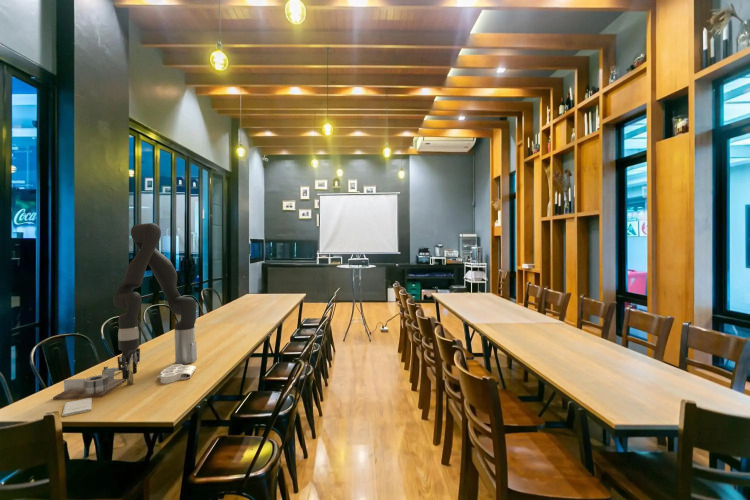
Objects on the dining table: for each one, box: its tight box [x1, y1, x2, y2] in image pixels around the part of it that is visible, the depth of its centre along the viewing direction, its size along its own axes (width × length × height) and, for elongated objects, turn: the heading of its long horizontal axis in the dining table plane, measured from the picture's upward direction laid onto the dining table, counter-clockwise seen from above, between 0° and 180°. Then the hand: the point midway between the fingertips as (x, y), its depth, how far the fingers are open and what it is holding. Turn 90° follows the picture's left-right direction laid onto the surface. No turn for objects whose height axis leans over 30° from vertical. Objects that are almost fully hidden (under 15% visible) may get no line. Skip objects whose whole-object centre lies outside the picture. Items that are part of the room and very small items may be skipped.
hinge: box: [63, 369, 115, 394], centre depth 160 cm, size 16×16×5 cm
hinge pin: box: [126, 358, 134, 386], centre depth 166 cm, size 2×2×12 cm
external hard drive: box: [61, 397, 93, 417], centre depth 142 cm, size 2×8×12 cm
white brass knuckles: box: [156, 363, 197, 384], centre depth 176 cm, size 3×18×15 cm
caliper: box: [101, 366, 121, 375], centre depth 180 cm, size 20×1×6 cm, turn 0°
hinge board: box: [52, 378, 127, 401], centre depth 161 cm, size 18×18×1 cm
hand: (129, 376), depth 166 cm, fingers open, 6 cm apart
